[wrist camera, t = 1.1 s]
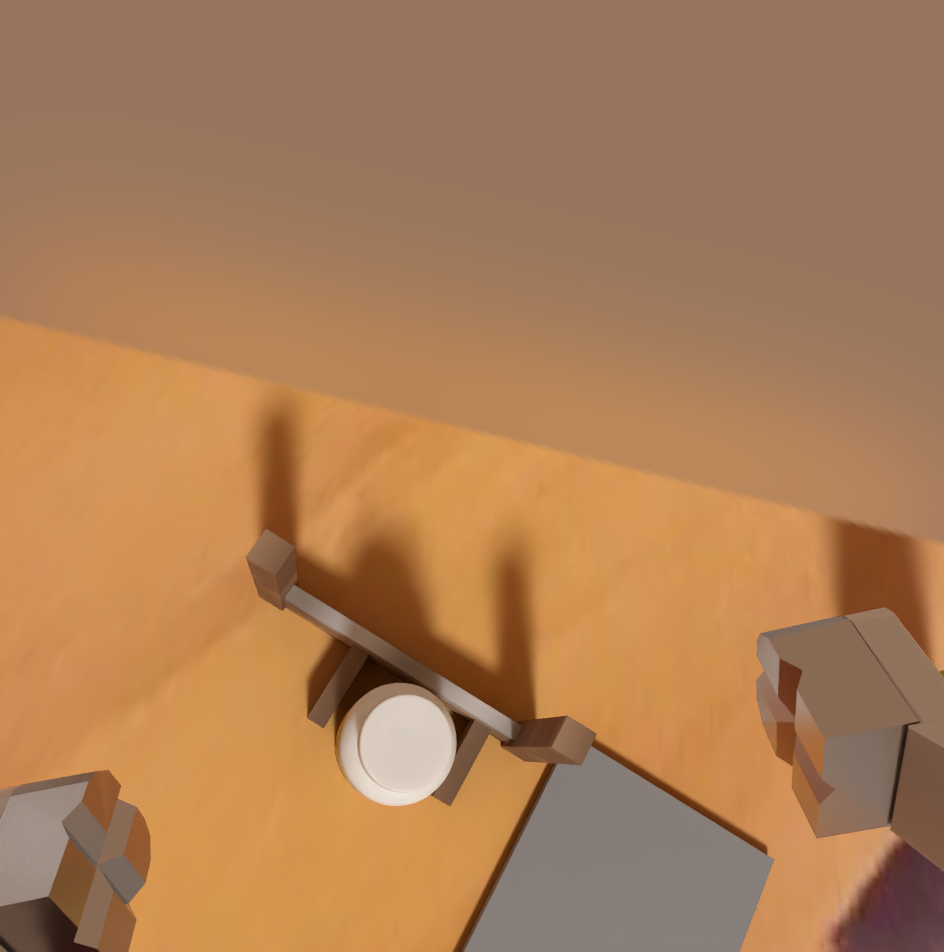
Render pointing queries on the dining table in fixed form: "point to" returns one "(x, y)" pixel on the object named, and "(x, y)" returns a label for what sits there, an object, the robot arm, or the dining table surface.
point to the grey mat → (619, 872)
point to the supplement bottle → (396, 744)
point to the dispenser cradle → (410, 677)
